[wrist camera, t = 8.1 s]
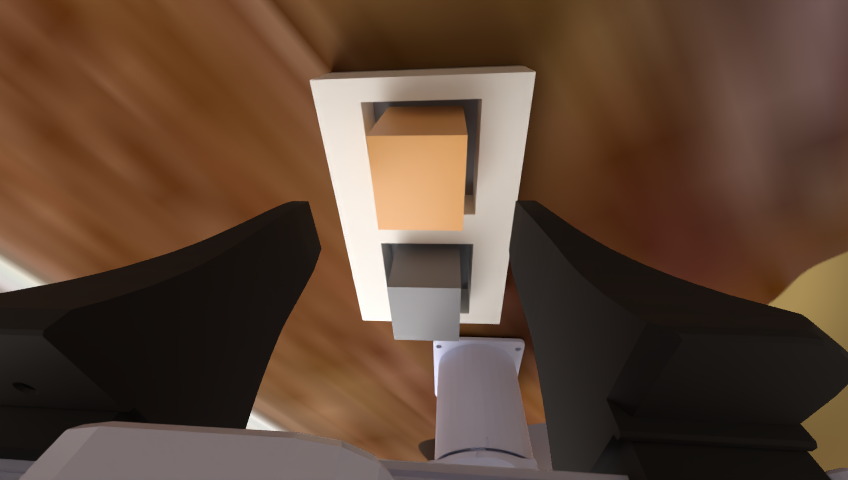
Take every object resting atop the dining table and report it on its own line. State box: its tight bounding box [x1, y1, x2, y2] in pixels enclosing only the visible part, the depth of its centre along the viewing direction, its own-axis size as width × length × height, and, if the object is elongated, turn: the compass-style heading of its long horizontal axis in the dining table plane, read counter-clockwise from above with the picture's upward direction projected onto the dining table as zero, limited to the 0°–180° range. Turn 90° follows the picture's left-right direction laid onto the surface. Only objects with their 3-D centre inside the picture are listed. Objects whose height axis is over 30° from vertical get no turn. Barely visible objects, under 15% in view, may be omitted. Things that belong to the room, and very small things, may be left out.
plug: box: [366, 106, 468, 231], centre depth 16 cm, size 4×4×6 cm
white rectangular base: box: [310, 65, 536, 341], centre depth 18 cm, size 16×10×6 cm, turn 2°
